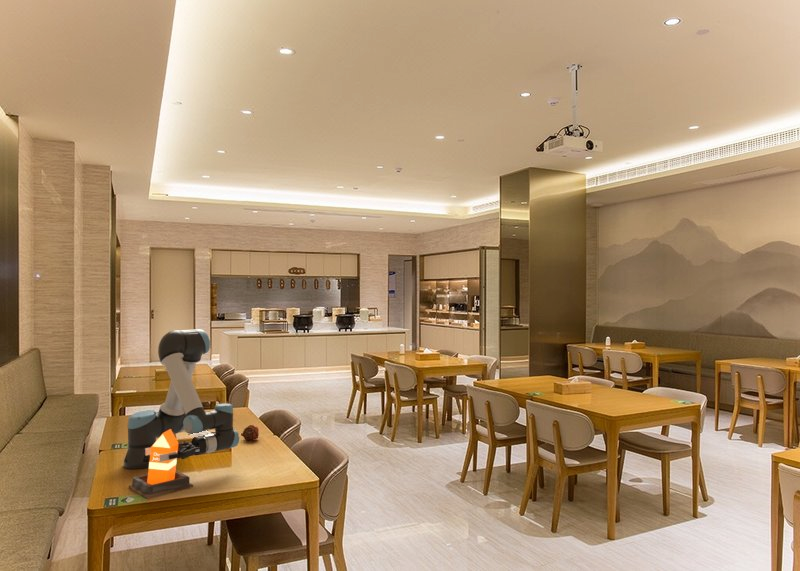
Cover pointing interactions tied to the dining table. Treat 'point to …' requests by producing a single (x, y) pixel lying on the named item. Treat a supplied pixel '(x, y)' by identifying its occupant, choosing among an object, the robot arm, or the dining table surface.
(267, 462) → the dining table surface
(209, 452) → the robot arm
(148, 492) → the tray
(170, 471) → the orange juice
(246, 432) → the brown bumpy lump
